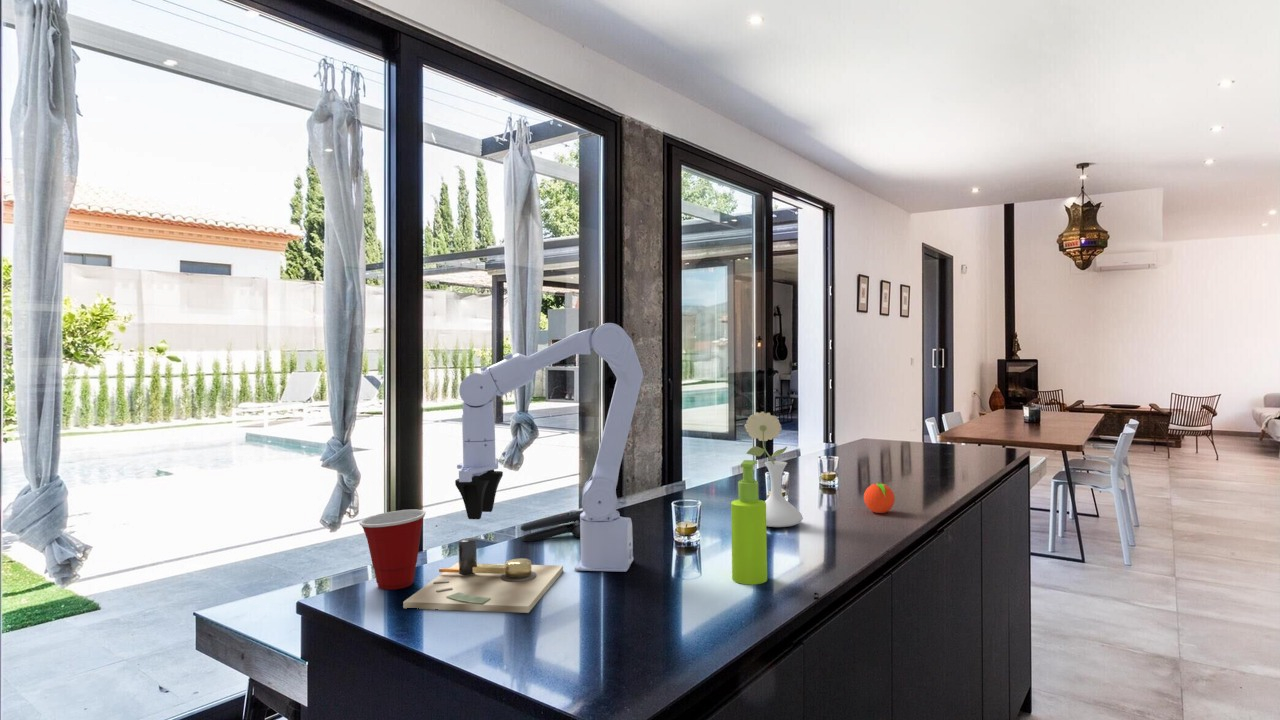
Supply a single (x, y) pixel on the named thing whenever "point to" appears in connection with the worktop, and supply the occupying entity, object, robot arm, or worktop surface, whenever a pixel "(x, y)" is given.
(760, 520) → the soap dispenser
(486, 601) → the dial board
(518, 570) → the lever
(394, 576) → the plastic cup
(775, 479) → the flower in vase
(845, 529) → the worktop surface
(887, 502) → the clementine
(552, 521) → the can opener
